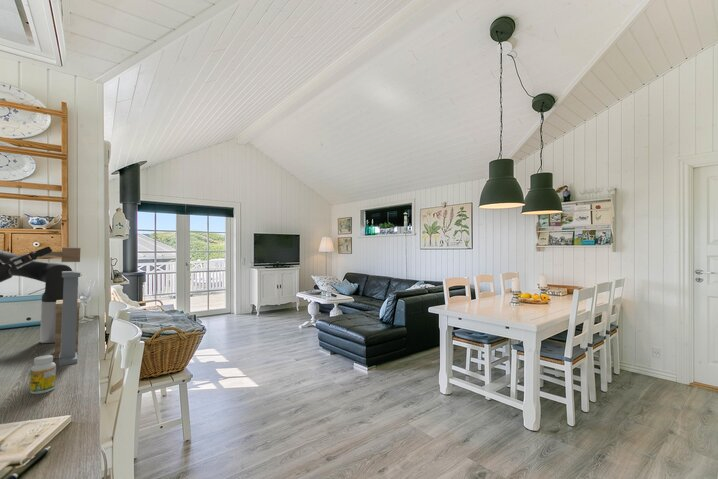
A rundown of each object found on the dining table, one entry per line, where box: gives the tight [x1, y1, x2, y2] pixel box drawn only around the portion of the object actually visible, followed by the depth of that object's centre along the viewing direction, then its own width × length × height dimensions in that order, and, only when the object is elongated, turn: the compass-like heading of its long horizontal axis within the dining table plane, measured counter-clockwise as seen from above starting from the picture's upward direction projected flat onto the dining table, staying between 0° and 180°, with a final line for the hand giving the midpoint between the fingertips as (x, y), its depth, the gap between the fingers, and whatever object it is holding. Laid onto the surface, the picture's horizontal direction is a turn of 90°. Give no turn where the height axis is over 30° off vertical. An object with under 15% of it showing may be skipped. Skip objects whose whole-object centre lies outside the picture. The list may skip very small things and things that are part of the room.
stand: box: [57, 270, 81, 367], centre depth 124 cm, size 10×5×32 cm, turn 40°
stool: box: [53, 298, 81, 359], centre depth 132 cm, size 10×7×20 cm
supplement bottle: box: [29, 354, 57, 395], centre depth 99 cm, size 5×5×10 cm
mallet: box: [30, 246, 81, 263], centre depth 122 cm, size 8×13×5 cm, turn 130°
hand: (50, 248), depth 121 cm, fingers closed on mallet
